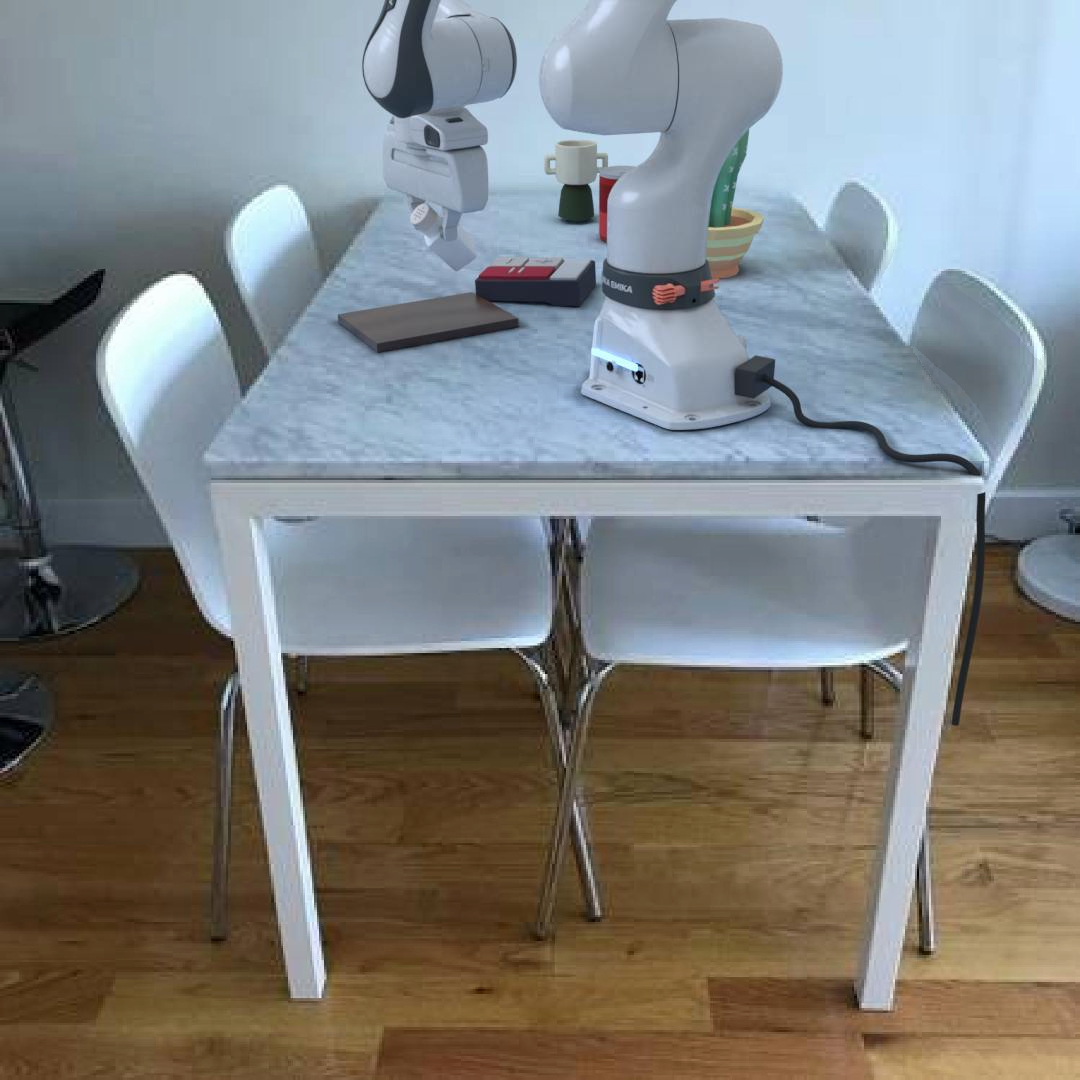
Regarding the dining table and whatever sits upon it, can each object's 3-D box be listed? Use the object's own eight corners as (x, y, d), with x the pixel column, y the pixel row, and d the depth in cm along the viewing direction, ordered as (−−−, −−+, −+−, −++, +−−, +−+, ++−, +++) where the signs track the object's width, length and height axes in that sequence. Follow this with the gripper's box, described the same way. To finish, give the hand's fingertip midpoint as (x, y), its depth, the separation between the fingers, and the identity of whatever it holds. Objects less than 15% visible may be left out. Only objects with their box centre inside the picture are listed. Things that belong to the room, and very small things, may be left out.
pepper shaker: (479, 257, 161) (432, 214, 155) (456, 274, 163) (408, 232, 156) (475, 238, 164) (429, 194, 157) (452, 255, 165) (405, 212, 159)
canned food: (610, 246, 198) (611, 177, 193) (591, 235, 204) (591, 167, 199) (653, 241, 200) (655, 172, 195) (632, 230, 207) (634, 163, 202)
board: (518, 326, 162) (518, 318, 162) (377, 352, 154) (376, 343, 153) (472, 300, 173) (472, 291, 173) (338, 322, 165) (337, 314, 164)
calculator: (495, 254, 181) (595, 254, 177) (498, 283, 182) (596, 284, 179) (473, 275, 171) (578, 275, 167) (475, 305, 173) (579, 306, 169)
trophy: (604, 214, 218) (605, 138, 211) (610, 224, 211) (611, 145, 205) (543, 216, 217) (542, 140, 211) (546, 226, 211) (545, 147, 204)
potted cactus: (754, 256, 191) (765, 87, 180) (767, 284, 178) (780, 103, 166) (654, 257, 192) (659, 88, 180) (660, 285, 178) (665, 104, 167)
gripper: (366, 115, 159) (375, 223, 165) (451, 138, 144) (456, 255, 150) (409, 110, 162) (415, 216, 168) (496, 131, 147) (499, 246, 154)
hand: (435, 234), depth 159 cm, fingers closed on pepper shaker, 5 cm apart
